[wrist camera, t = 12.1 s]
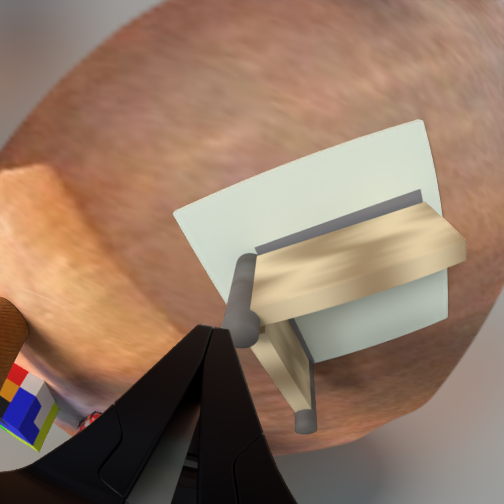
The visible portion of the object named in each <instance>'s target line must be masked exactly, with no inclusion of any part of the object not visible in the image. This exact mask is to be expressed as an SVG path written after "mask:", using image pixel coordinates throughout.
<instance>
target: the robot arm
mask: <svg viewBox="0 0 504 504" xmlns="http://www.w3.org/2000/svg"><path fill="white" fill-rule="evenodd" d="M0 504H297V502H296V500H295V499H294V497H293V495H292V494H291V492H290V490H289V489H288V487H287V485H286V483H285V481H284V479H283V477H282V475H281V473H280V472H279V470H278V468H277V466H276V463H275V461H274V458H273V456H272V453H271V451H270V448H269V446H268V443H267V440H266V437H265V435H264V434H263V430H262V427H261V424H260V421H259V418H258V415H257V412H256V409H255V406H254V403H253V400H252V397H251V395H250V392H249V389H248V385H247V382H246V379H245V376H244V373H243V370H242V367H241V364H240V361H239V358H238V355H237V351H236V348H235V345H234V342H233V339H232V335H231V332H230V330H229V329H227V328H221V327H215V328H214V329H213V327H212V326H208V325H202V324H199V325H197V326H196V327H195V328H193V329H192V330H191V331H190V332H189V333H188V334H187V335H186V336H185V337H184V338H183V339H182V340H181V341H180V342H179V343H178V344H177V345H176V346H174V347H173V348H172V349H171V350H170V351H169V352H168V353H167V354H166V355H165V356H164V357H163V358H162V359H161V360H160V361H158V362H157V363H156V364H155V365H154V366H153V367H152V368H151V369H150V370H149V371H148V372H147V373H146V374H145V375H143V376H142V377H141V378H140V379H139V380H138V381H137V382H136V383H135V384H134V385H133V386H132V387H131V388H129V389H128V390H127V391H126V392H125V393H124V394H123V395H122V396H121V397H120V398H119V399H118V400H116V401H115V405H114V404H112V405H111V406H110V407H109V408H108V409H106V410H105V411H104V412H103V413H102V414H101V415H100V416H99V417H97V418H96V419H95V420H94V421H93V422H92V423H90V424H89V425H88V426H87V427H85V428H84V429H83V430H81V431H80V432H79V433H77V434H76V435H74V436H73V437H72V438H70V439H69V440H67V441H66V442H64V443H63V444H61V445H60V446H58V447H57V448H55V449H54V450H52V451H51V452H49V453H48V454H47V455H45V456H43V457H42V458H40V459H39V460H37V461H35V462H34V463H32V464H30V465H28V466H26V467H23V468H20V469H16V470H11V471H3V472H0Z"/></svg>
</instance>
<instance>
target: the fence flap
mask: <svg viewBox="0 0 504 504" xmlns="http://www.w3.org/2000/svg"><path fill="white" fill-rule="evenodd" d="M463 261H466V239H465V238H464V237H463V236H462V235H461V234H460V233H459V232H458V231H457V230H455V229H454V228H453V227H452V226H451V225H450V224H449V223H448V222H447V221H446V220H445V219H444V218H443V217H442V216H441V215H439V214H438V213H437V212H436V211H435V210H434V209H433V208H432V207H431V206H429V205H428V204H427V203H426V202H422V203H419V204H416V205H413V206H410V207H407V208H404V209H401V210H398V211H395V212H392V213H389V214H386V215H383V216H380V217H377V218H373V219H370V220H367V221H364V222H361V223H358V224H355V225H352V226H349V227H346V228H343V229H340V230H336V231H333V232H330V233H327V234H324V235H321V236H318V237H315V238H312V239H309V240H305V241H302V242H299V243H296V244H293V245H290V246H287V247H284V248H281V249H277V250H274V251H271V252H268V253H265V254H262V255H259V256H258V255H257V254H253V253H246V254H243V255H241V256H240V257H239V258H238V260H237V263H236V267H235V271H234V275H233V280H232V284H231V288H230V293H229V297H228V302H227V306H226V310H225V315H224V319H223V323H222V328H227V329H229V330H230V332H231V335H232V339H233V342H234V345H235V348H248V347H251V346H253V345H255V344H256V343H257V341H258V339H259V328H260V326H263V325H267V324H271V323H275V322H279V321H283V320H287V319H291V318H294V317H298V316H302V315H305V314H309V313H313V312H316V311H320V310H323V309H326V308H330V307H333V306H337V305H340V304H343V303H347V302H350V301H353V300H356V299H360V298H363V297H366V296H369V295H372V294H375V293H378V292H381V291H384V290H387V289H390V288H393V287H396V286H399V285H402V284H405V283H408V282H410V281H413V280H416V279H419V278H422V277H424V276H427V275H430V274H432V273H435V272H438V271H440V270H443V269H446V268H448V267H451V266H453V265H456V264H458V263H461V262H463Z"/></svg>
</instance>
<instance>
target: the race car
mask: <svg viewBox="0 0 504 504" xmlns="http://www.w3.org/2000/svg"><path fill="white" fill-rule="evenodd" d="M100 415H101V414H99V413H97V412H96V411H95V412H93V413H92V414H91V415H89V416H88V417H86V418H85V419H83V420H82V421H81V422H80V423H79V426H78V428H77V433H79V432H80V431H81V430H83V429H84V428H85V427H87V426H88V425H89V424H90V423H92V422H93V421H94V420H95V419H96V418H97V417H99V416H100Z"/></svg>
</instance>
